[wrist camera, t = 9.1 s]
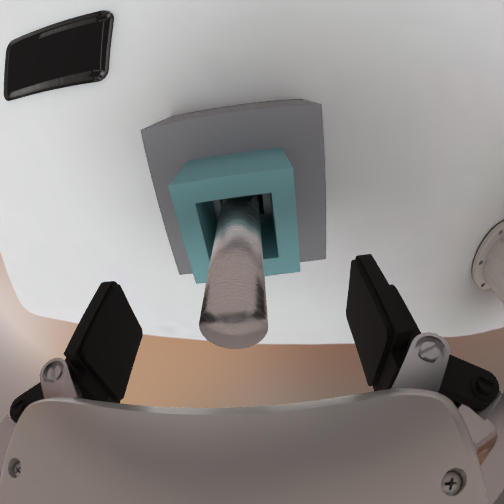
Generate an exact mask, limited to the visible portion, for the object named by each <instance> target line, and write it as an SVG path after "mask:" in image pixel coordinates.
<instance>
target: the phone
mask: <svg viewBox="0 0 504 504" xmlns="http://www.w3.org/2000/svg"><path fill="white" fill-rule="evenodd" d="M113 22H114V16H113V14H112V13H110V12H108V11H98V12H94V13H90V14H86V15H82V16H78V17H75V18H71V19H68V20H65V21H62V22H58V23H55V24H52V25H50V26H47V27H44V28H41V29H39V30H36V31H33V32H31V33H28V34H26V35H23V36H21V37H19V38H17V39H14V40H12V41H11V42H10V43H9V45H8V47H7V50H6V59H5V73H4V97H5V99H6V100H7V101H10V100H14V99H17V98H21V97H25V96H28V95H32V94H36V93H40V92H44V91H49V90H53V89H58V88H63V87H68V86H73V85H79V84H85V83H92V82H98V81H101V80H103V79H104V78H105V77H106V76H107V74H108V70H109V58H110V47H111V38H112V30H113Z"/></svg>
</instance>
